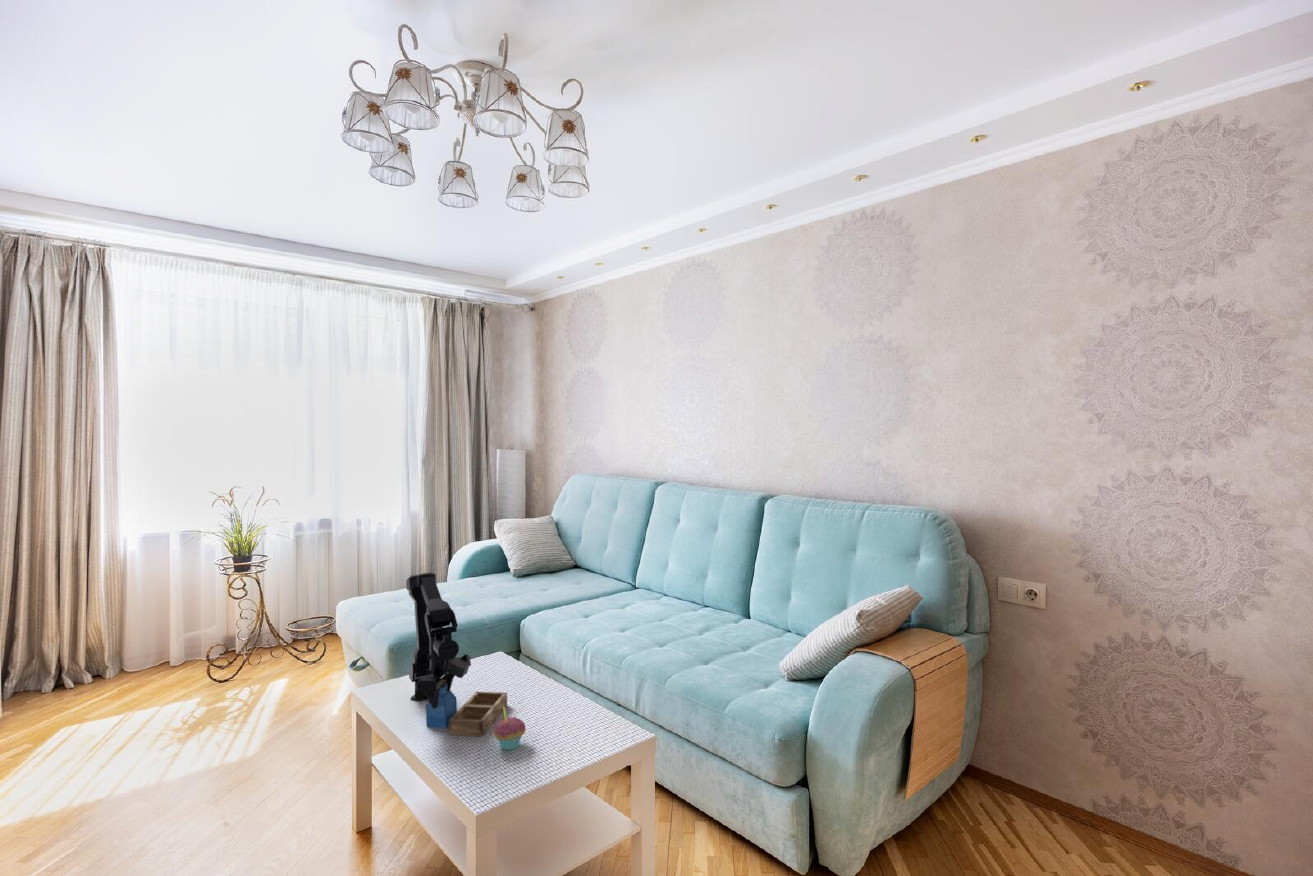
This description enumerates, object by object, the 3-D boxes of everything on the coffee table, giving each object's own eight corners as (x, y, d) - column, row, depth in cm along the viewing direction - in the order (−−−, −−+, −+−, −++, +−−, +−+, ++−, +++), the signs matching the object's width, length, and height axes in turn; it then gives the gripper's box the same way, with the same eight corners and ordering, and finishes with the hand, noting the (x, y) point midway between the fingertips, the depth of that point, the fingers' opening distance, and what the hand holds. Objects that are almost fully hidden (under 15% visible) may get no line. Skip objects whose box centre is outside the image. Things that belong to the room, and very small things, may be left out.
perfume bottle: (445, 728, 177) (445, 687, 177) (426, 726, 178) (425, 685, 178) (456, 718, 183) (456, 678, 183) (438, 716, 184) (437, 677, 184)
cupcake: (509, 757, 161) (508, 711, 161) (486, 748, 165) (486, 704, 165) (532, 742, 168) (531, 699, 168) (510, 735, 173) (509, 692, 172)
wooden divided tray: (476, 704, 192) (476, 691, 192) (507, 705, 191) (506, 692, 191) (448, 734, 173) (448, 720, 173) (482, 736, 172) (482, 722, 172)
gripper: (451, 662, 170) (452, 718, 170) (478, 639, 189) (479, 690, 189) (414, 661, 171) (415, 716, 171) (444, 639, 190) (445, 688, 190)
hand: (440, 702), depth 180 cm, fingers open, 7 cm apart
